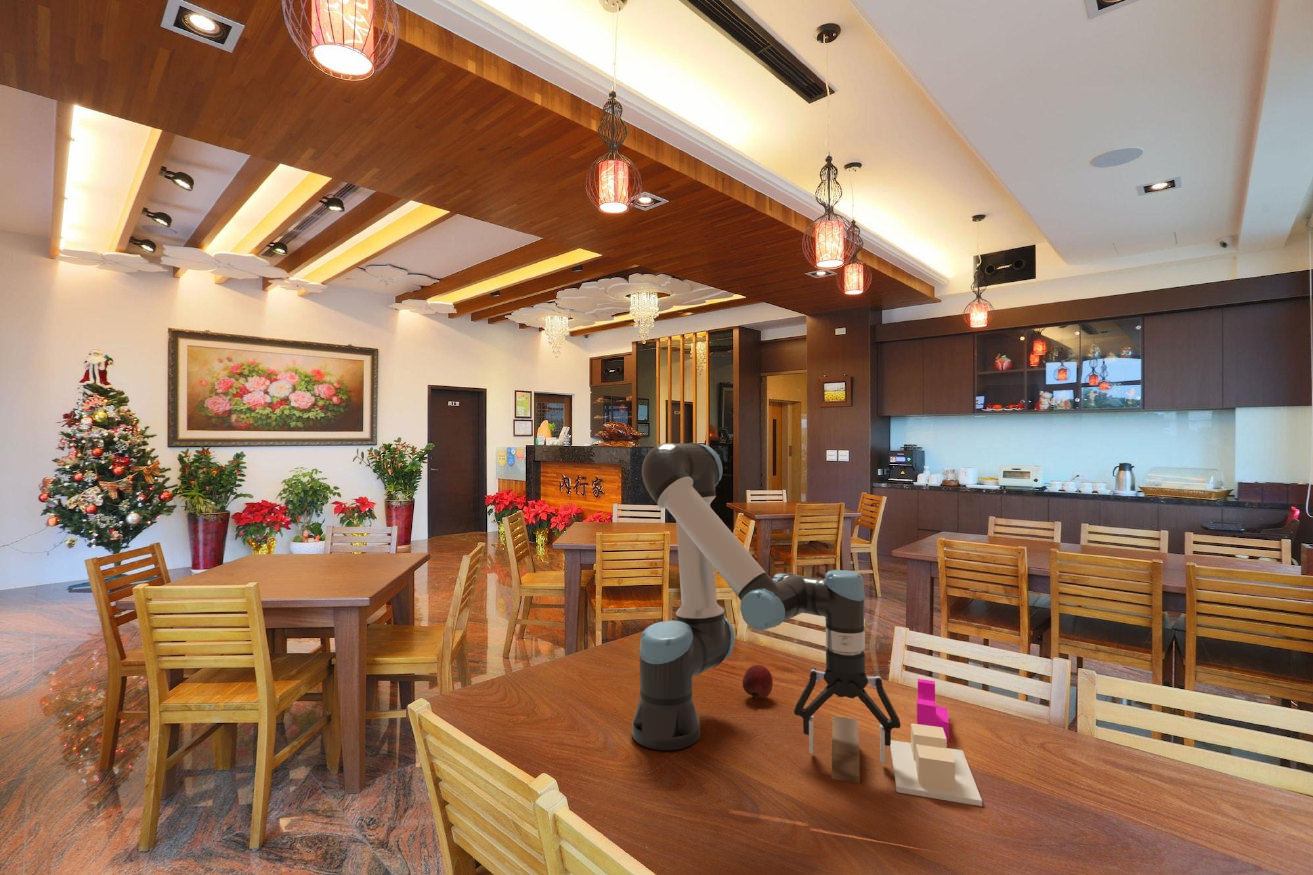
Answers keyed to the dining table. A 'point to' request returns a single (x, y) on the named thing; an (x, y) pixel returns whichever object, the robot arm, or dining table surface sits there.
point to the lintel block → (845, 749)
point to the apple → (758, 681)
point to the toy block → (930, 707)
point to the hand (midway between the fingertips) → (846, 755)
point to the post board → (932, 792)
